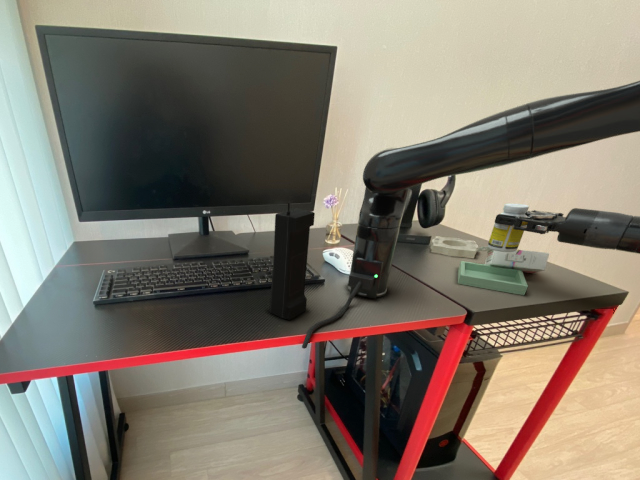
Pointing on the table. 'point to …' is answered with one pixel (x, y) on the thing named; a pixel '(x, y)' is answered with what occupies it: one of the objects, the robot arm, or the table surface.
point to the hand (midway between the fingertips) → (501, 216)
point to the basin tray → (492, 277)
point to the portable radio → (290, 262)
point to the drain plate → (454, 247)
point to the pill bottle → (507, 230)
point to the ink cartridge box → (517, 259)
